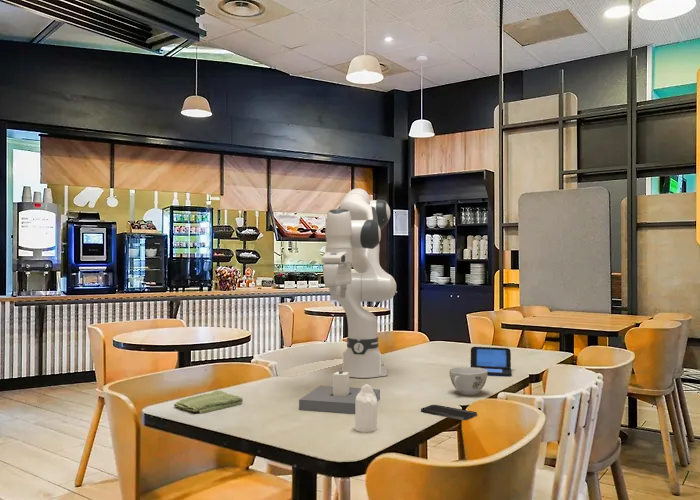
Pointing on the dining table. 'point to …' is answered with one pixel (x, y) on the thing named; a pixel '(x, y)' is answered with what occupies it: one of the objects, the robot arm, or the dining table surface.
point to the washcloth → (209, 402)
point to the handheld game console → (492, 360)
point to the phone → (449, 412)
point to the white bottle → (366, 410)
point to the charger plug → (341, 384)
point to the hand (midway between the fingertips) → (338, 299)
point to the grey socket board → (331, 400)
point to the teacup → (468, 379)
